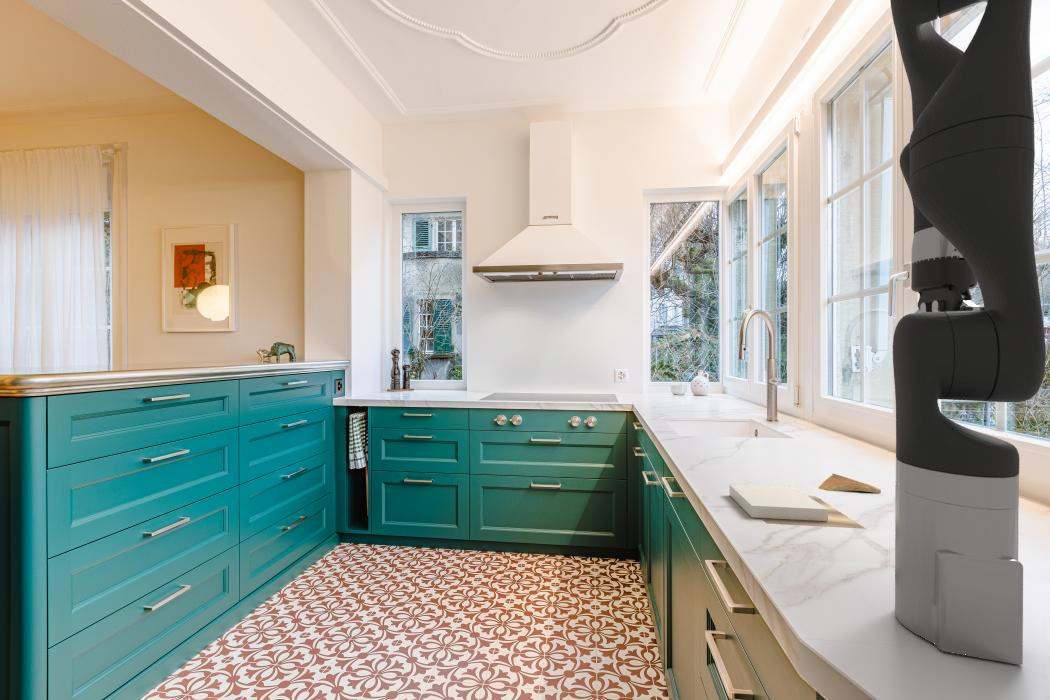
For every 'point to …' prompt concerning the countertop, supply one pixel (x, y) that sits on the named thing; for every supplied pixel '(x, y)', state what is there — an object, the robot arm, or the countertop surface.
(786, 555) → the countertop surface
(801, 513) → the tile
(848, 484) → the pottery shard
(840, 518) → the plate
